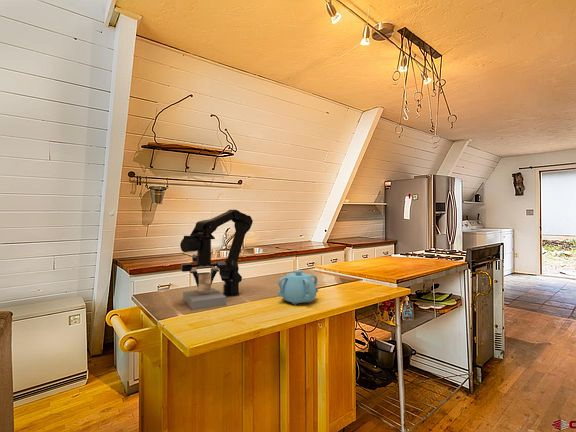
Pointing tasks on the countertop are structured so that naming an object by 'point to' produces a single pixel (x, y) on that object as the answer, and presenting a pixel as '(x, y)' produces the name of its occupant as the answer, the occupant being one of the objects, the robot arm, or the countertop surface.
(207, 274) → the beech block
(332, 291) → the countertop surface
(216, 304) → the grey riser
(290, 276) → the decorative pot
